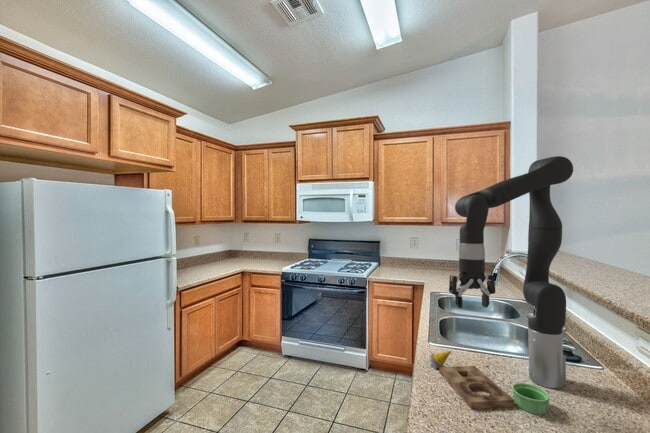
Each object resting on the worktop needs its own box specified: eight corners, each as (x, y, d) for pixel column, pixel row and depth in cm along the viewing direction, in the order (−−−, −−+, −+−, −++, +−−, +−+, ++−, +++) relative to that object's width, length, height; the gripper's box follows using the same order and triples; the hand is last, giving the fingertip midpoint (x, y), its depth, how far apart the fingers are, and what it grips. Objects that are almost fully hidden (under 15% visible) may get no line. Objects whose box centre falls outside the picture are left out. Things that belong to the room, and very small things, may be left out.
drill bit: (431, 362, 113) (452, 348, 110) (437, 375, 108) (458, 360, 105) (422, 356, 111) (443, 341, 109) (427, 369, 107) (449, 353, 104)
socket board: (474, 371, 106) (474, 365, 106) (514, 406, 86) (514, 399, 86) (439, 372, 105) (439, 367, 105) (471, 409, 85) (471, 402, 85)
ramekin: (531, 418, 81) (530, 402, 81) (505, 399, 90) (504, 384, 90) (558, 414, 82) (557, 398, 83) (529, 395, 91) (529, 381, 91)
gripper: (485, 255, 100) (486, 303, 100) (444, 256, 99) (445, 304, 99) (500, 258, 92) (500, 310, 92) (456, 259, 91) (456, 311, 91)
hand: (472, 307), depth 95 cm, fingers open, 8 cm apart
